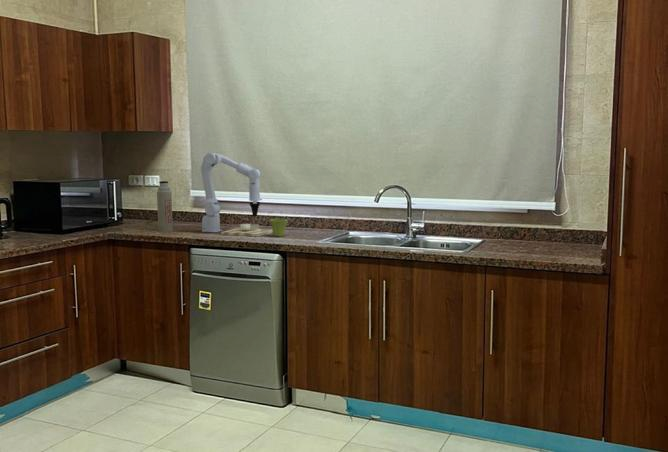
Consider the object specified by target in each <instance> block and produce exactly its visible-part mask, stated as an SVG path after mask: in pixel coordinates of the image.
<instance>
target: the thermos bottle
mask: <svg viewBox="0 0 668 452" xmlns="http://www.w3.org/2000/svg"><path fill="white" fill-rule="evenodd" d="M158 183H159V186H158V187H157V191H156V201H157V202H156V203H157V205H156V206H157V230H158V232H171V231H173V230H174V228H173V226H174V225H173V202H172V201H173V200H172V199H173V198H172V191H171V187H170V186H169V181H167V180H164V181H158Z"/></svg>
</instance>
